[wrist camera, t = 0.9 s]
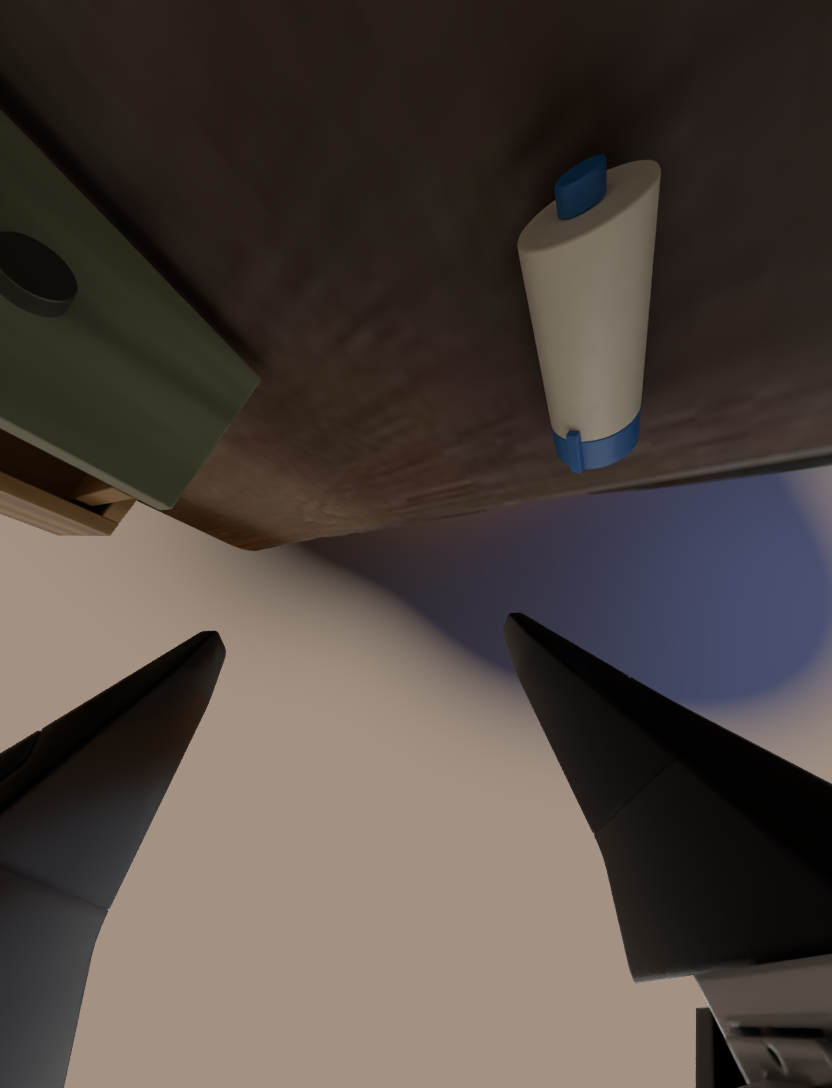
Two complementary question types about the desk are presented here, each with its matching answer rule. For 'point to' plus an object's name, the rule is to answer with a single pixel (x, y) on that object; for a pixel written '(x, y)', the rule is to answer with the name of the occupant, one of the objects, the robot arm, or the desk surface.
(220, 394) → the drawer
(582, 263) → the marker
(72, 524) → the cabinet
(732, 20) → the desk surface
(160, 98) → the desk surface
